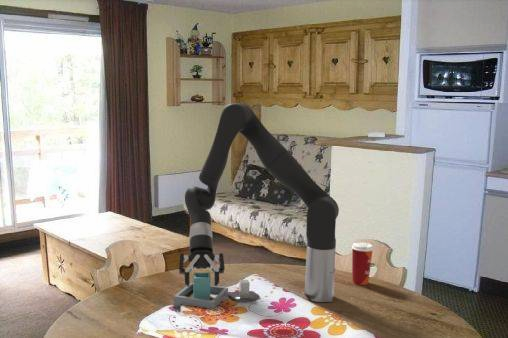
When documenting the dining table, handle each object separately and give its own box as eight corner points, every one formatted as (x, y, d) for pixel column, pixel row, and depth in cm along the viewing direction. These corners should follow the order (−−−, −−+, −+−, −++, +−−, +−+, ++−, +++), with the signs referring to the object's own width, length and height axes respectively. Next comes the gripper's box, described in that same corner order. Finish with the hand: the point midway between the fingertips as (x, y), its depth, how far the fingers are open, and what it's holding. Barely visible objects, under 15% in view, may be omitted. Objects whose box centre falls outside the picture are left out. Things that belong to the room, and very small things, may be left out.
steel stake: (256, 294, 166) (257, 275, 166) (262, 306, 157) (262, 286, 156) (226, 295, 165) (227, 276, 164) (229, 307, 155) (230, 287, 154)
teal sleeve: (208, 296, 161) (209, 272, 160) (209, 302, 156) (210, 277, 155) (193, 297, 160) (193, 272, 159) (193, 303, 155) (194, 278, 154)
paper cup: (373, 286, 178) (375, 248, 176) (351, 285, 178) (353, 247, 177) (368, 279, 186) (371, 242, 184) (347, 278, 186) (350, 241, 184)
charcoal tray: (227, 298, 163) (228, 287, 162) (213, 313, 150) (214, 302, 150) (190, 292, 166) (190, 282, 166) (173, 307, 154) (173, 296, 153)
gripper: (179, 233, 162) (179, 280, 152) (223, 233, 165) (226, 279, 155) (178, 245, 168) (178, 290, 158) (221, 244, 170) (224, 289, 161)
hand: (202, 285), depth 156 cm, fingers open, 8 cm apart
